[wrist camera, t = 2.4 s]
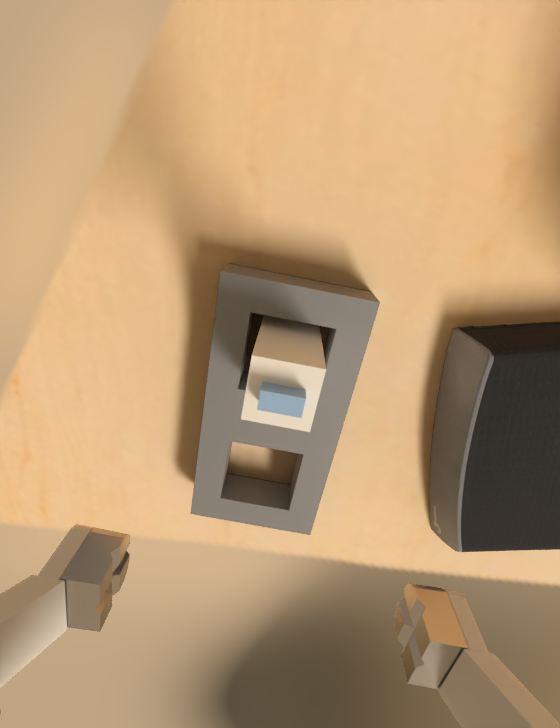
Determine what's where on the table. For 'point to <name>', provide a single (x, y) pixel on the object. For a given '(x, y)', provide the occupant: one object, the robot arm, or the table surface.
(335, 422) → the socket panel
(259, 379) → the plug
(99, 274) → the table surface
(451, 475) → the external hard drive
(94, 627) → the robot arm
